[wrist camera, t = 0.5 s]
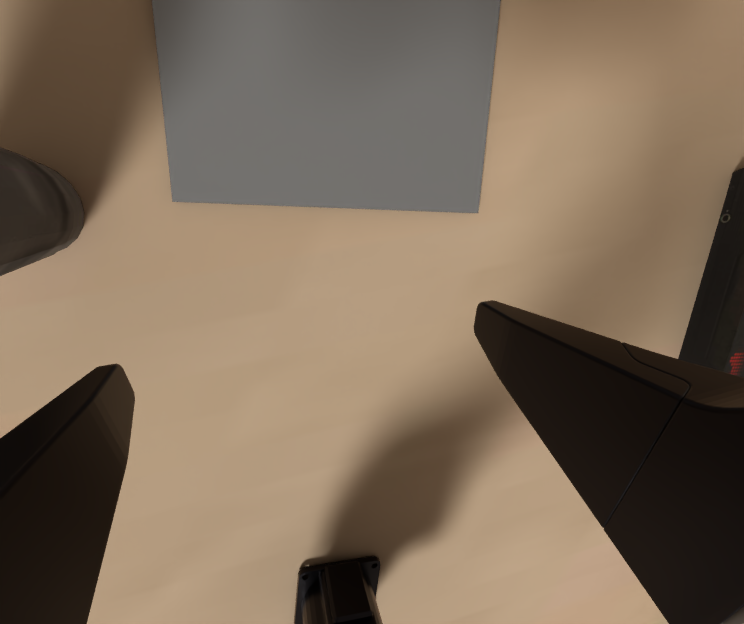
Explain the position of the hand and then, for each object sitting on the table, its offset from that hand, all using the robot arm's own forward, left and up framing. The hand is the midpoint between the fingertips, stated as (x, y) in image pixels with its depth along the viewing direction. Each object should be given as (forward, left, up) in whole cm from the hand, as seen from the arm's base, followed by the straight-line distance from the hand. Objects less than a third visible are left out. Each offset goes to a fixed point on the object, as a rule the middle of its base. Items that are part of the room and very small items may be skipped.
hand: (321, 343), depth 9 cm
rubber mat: (+12, -2, -14) cm, 18 cm away
